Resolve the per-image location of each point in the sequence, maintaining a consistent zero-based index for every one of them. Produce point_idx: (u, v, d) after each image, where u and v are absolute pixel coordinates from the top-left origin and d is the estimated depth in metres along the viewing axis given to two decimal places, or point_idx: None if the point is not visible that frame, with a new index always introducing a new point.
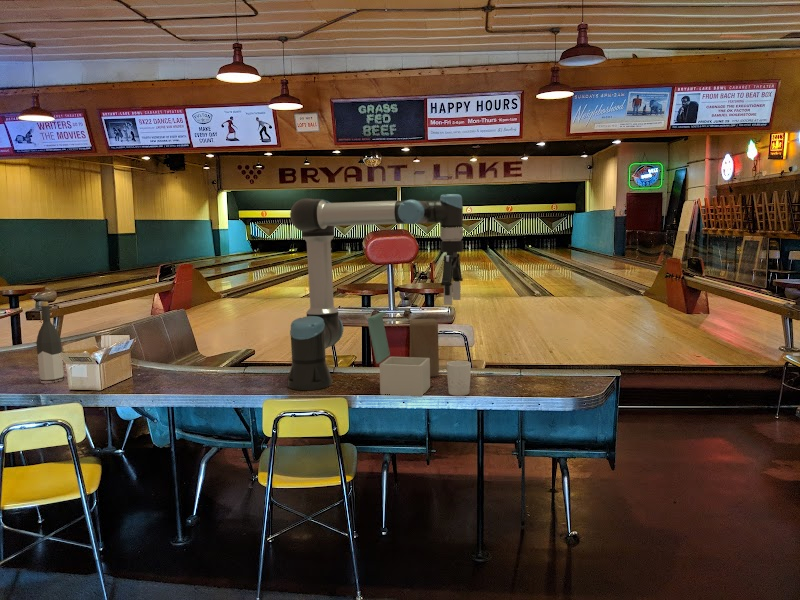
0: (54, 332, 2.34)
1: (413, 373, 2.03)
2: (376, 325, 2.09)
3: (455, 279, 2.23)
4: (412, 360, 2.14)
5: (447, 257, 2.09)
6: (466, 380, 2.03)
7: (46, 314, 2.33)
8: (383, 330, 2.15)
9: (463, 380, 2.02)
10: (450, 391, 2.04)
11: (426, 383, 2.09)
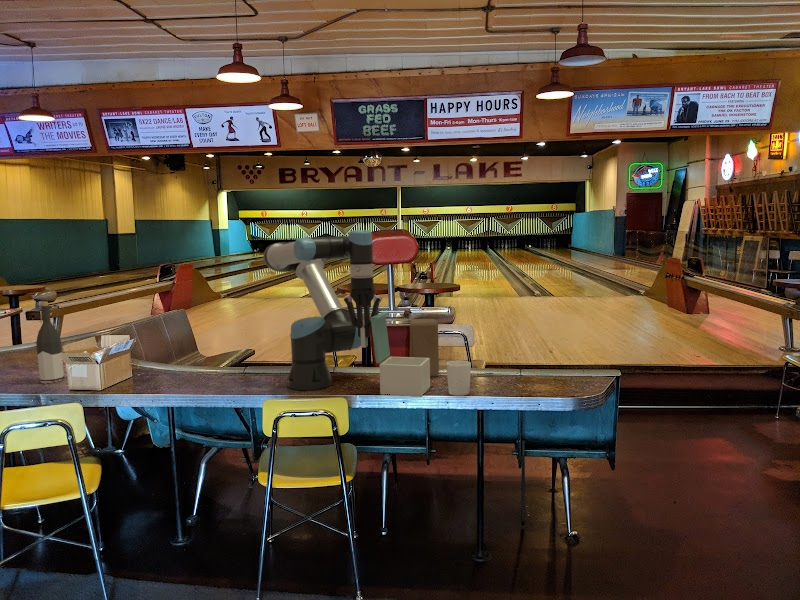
0: (54, 332, 2.34)
1: (413, 373, 2.03)
2: (379, 325, 2.09)
3: None
4: (412, 360, 2.14)
5: None
6: (466, 380, 2.03)
7: (46, 314, 2.33)
8: (385, 330, 2.15)
9: (463, 380, 2.02)
10: (450, 391, 2.04)
11: (426, 383, 2.09)
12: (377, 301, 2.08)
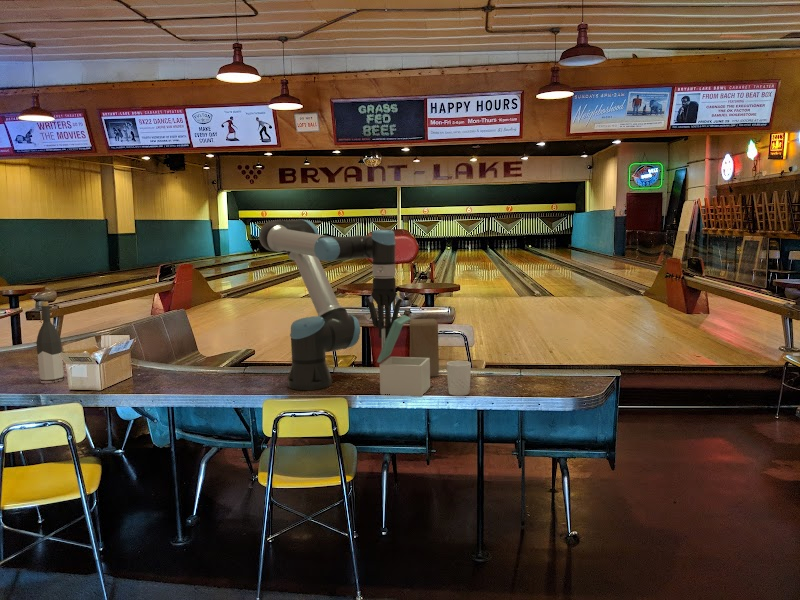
0: (54, 332, 2.34)
1: (413, 373, 2.03)
2: (397, 328, 2.07)
3: None
4: (412, 360, 2.14)
5: None
6: (466, 380, 2.03)
7: (46, 314, 2.33)
8: (398, 332, 2.14)
9: (463, 380, 2.02)
10: (450, 391, 2.04)
11: (426, 383, 2.09)
12: (399, 302, 2.06)
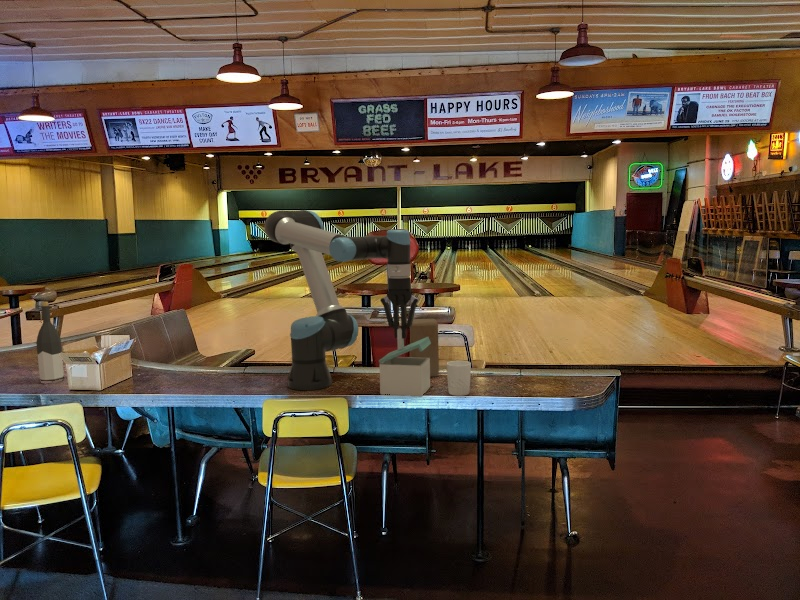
0: (54, 332, 2.34)
1: (413, 373, 2.03)
2: None
3: None
4: (412, 360, 2.14)
5: None
6: (466, 380, 2.03)
7: (46, 314, 2.33)
8: None
9: (463, 380, 2.02)
10: (450, 391, 2.04)
11: (426, 383, 2.09)
12: (415, 302, 2.05)
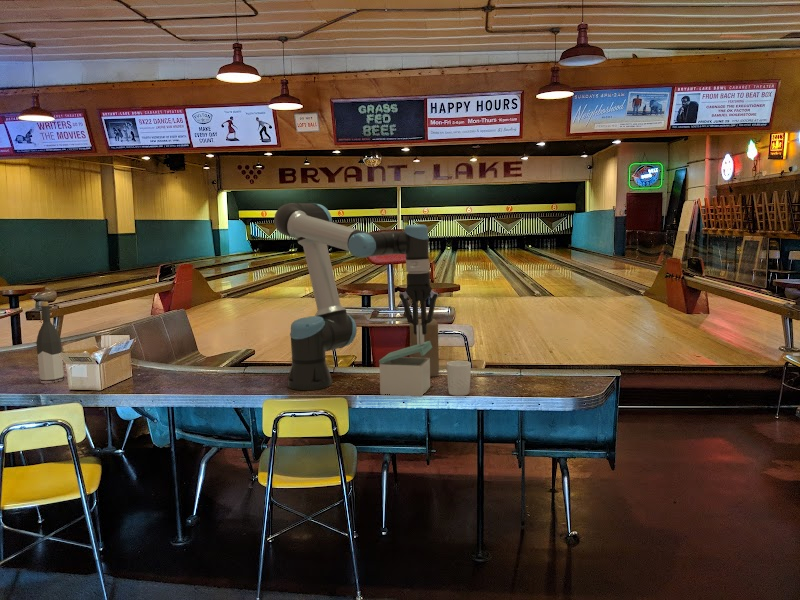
0: (54, 332, 2.34)
1: (413, 373, 2.03)
2: None
3: None
4: (412, 360, 2.14)
5: None
6: (466, 380, 2.03)
7: (46, 314, 2.33)
8: None
9: (463, 380, 2.02)
10: (450, 391, 2.04)
11: (426, 383, 2.09)
12: (434, 297, 2.03)
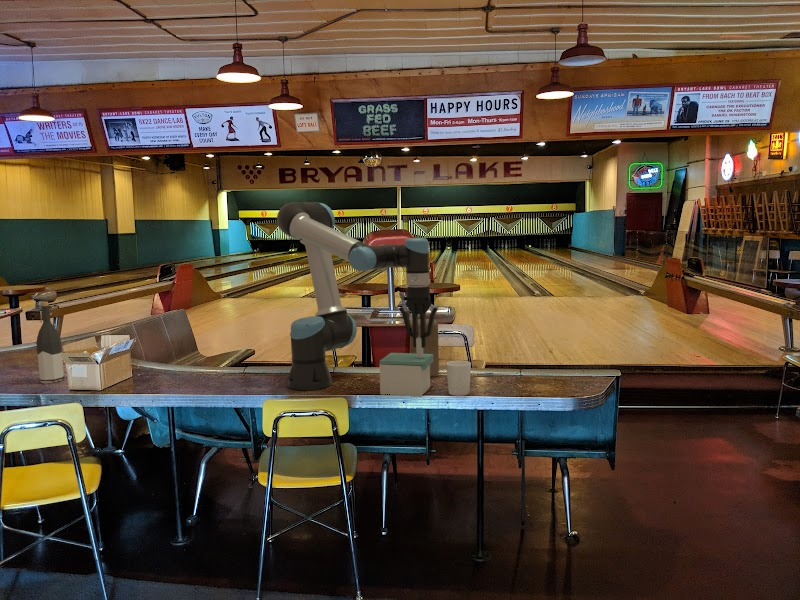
0: (54, 332, 2.34)
1: (413, 373, 2.03)
2: None
3: None
4: None
5: None
6: (466, 380, 2.03)
7: (46, 314, 2.33)
8: None
9: (463, 380, 2.02)
10: (450, 391, 2.04)
11: (426, 383, 2.09)
12: (434, 311, 2.04)
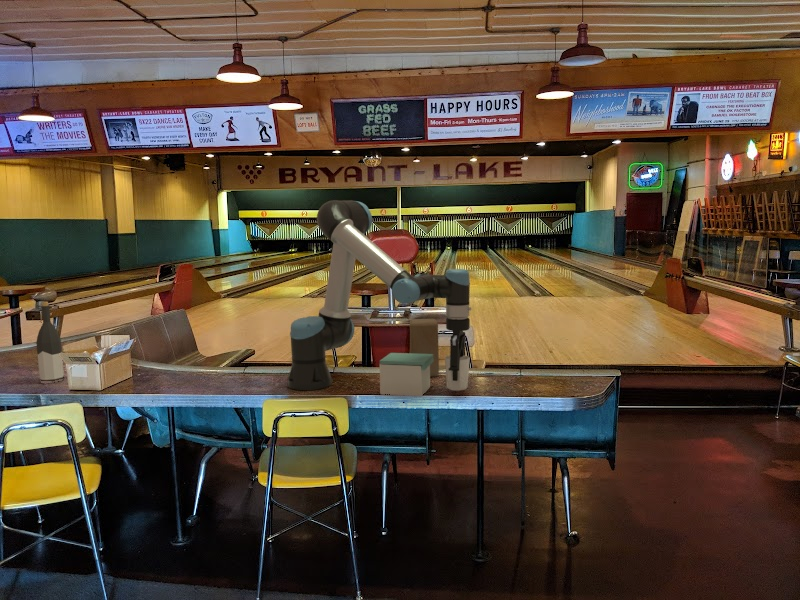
0: (54, 332, 2.34)
1: (413, 373, 2.03)
2: None
3: None
4: None
5: (453, 341, 1.98)
6: (464, 374, 2.03)
7: (46, 314, 2.33)
8: None
9: (461, 374, 2.02)
10: (448, 385, 2.04)
11: (426, 383, 2.09)
12: (464, 335, 2.10)
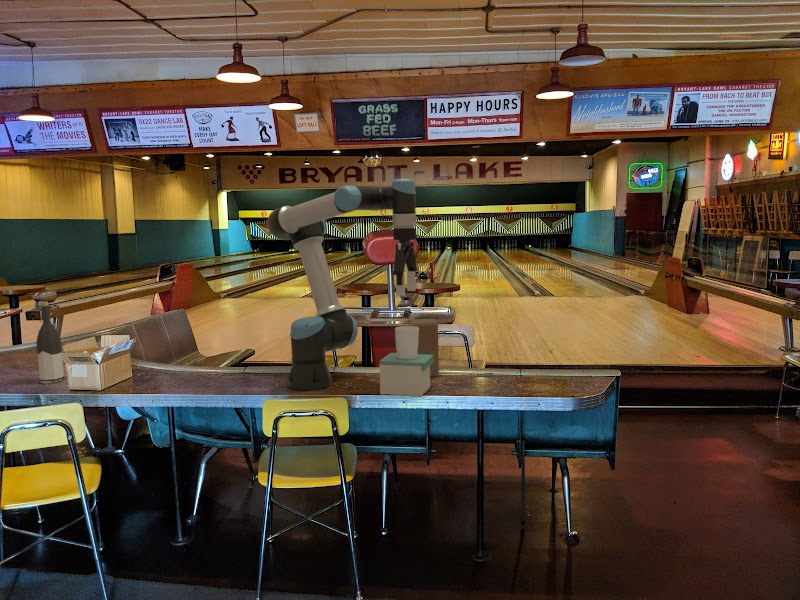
0: (54, 332, 2.34)
1: (413, 373, 2.03)
2: None
3: (410, 269, 2.13)
4: None
5: (399, 245, 1.98)
6: (413, 344, 2.06)
7: (46, 314, 2.33)
8: None
9: (410, 344, 2.05)
10: (398, 355, 2.08)
11: (426, 383, 2.09)
12: (413, 245, 2.11)
